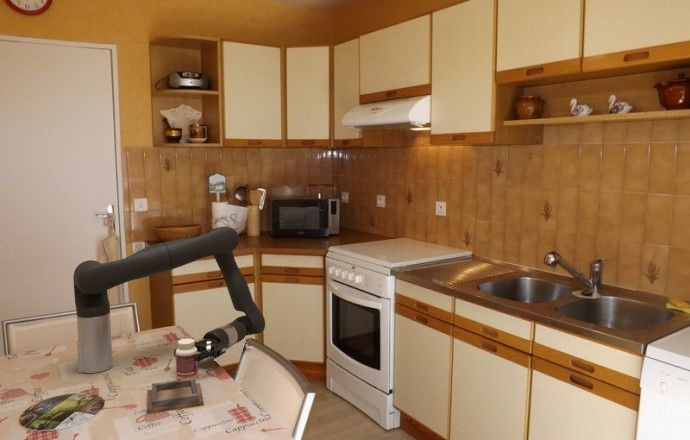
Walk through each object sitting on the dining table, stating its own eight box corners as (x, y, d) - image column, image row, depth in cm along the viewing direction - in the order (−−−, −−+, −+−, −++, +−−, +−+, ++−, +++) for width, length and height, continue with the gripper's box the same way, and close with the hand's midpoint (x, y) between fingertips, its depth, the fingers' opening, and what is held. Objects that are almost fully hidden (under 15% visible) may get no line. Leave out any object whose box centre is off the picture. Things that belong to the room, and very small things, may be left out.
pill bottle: (200, 378, 154) (199, 342, 153) (179, 383, 151) (178, 346, 149) (194, 370, 159) (193, 336, 158) (173, 375, 156) (172, 339, 154)
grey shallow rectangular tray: (146, 413, 132) (146, 403, 132) (147, 393, 144) (147, 383, 143) (203, 405, 137) (203, 395, 137) (199, 386, 148) (199, 376, 148)
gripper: (202, 324, 171) (167, 340, 156) (238, 331, 165) (204, 347, 150) (203, 346, 172) (167, 364, 157) (238, 353, 166) (205, 372, 151)
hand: (185, 356), depth 154 cm, fingers open, 8 cm apart
